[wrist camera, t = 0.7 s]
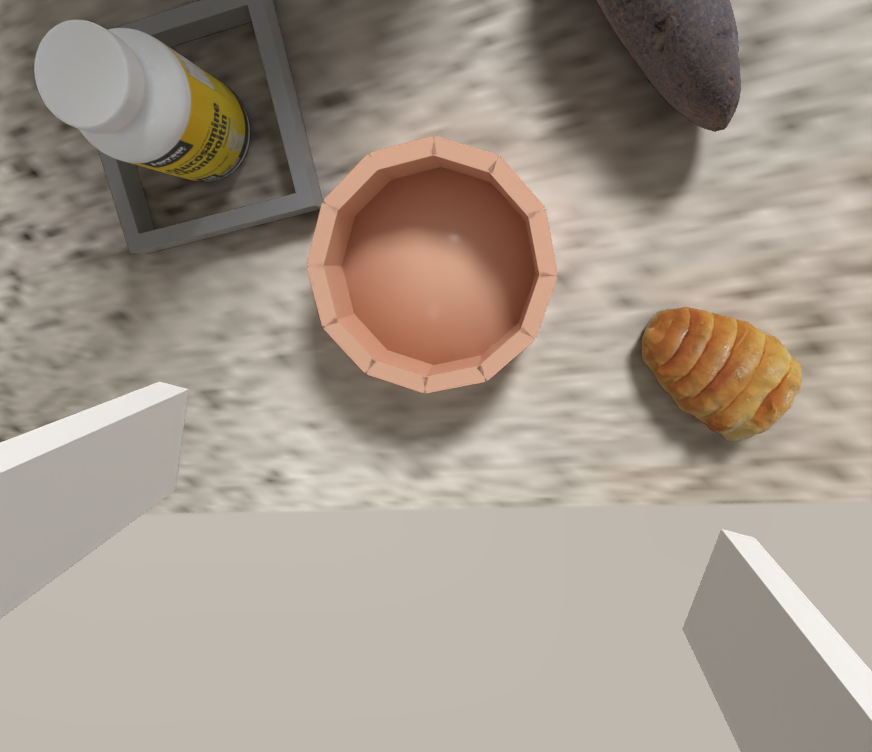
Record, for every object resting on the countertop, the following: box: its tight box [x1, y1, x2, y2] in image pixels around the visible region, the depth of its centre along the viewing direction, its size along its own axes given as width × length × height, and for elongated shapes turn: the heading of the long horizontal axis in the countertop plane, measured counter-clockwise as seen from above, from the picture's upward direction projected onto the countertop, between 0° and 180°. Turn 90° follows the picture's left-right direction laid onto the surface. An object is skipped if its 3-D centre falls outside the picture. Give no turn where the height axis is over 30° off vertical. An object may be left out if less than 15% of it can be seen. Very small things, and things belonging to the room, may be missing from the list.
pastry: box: [642, 307, 802, 441], centre depth 35 cm, size 9×7×4 cm
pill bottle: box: [34, 20, 250, 182], centre depth 32 cm, size 6×6×12 cm
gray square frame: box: [98, 0, 323, 253], centre depth 37 cm, size 13×13×2 cm
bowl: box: [307, 136, 558, 393], centre depth 35 cm, size 14×14×5 cm
